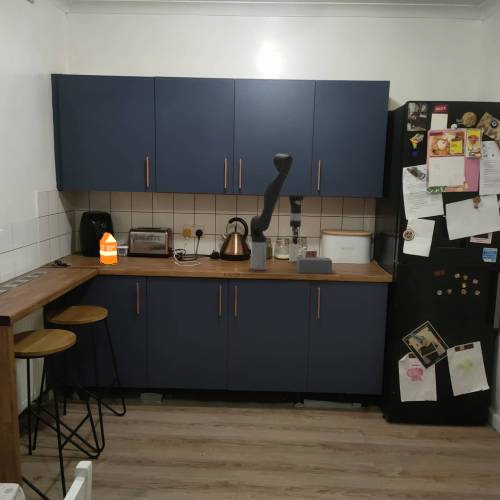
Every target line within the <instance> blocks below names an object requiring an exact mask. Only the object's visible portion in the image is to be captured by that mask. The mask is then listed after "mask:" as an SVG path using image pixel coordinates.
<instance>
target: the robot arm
mask: <svg viewBox="0 0 500 500" xmlns="http://www.w3.org/2000/svg"><path fill="white" fill-rule="evenodd" d="M293 159H294V158H293V156H292V155H290V154H284V153H276V154H275V155H274V157H273V161H272V162H273V165H274V167H275V169H276V170H277V172H278V174H277V175H275V176H274V178H272V179H271V180H270V182H269V183H268V184H267V186H266V187H265V190H264V192H263V209H262V212H261V214H260V215H254V216H253V217H251V219H250V224H249V227H250V229H249V230H250V231H249V232H250V238H251V253H250V254H251V256H250V257H251V259H250V260H251V261H250V269H251V270H254V271H255V270H256V271H262V270H266V269H267V237H266V235H264V232H265V231H267V230H268V229H269V228H270V227H269V226H270V224H271V220H272V217H273V212H274V210H275V207H276V205H277V202H278V199H279V197H280V194H281V191H282V188H283V186H284V184H285V179H286V177H287V175H288V173H289V172H290V170H291V168H292V165H293V163H294V161H293ZM288 199H289V203H290V215H289V227H291V239H292V240H291V242H294V244H297V242H298V238H299V229H298V228H301V225H302V206H301V204H298V203H297V202H302V201H303V200H304V199H305V195H304V196H289V195H288Z"/></svg>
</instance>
